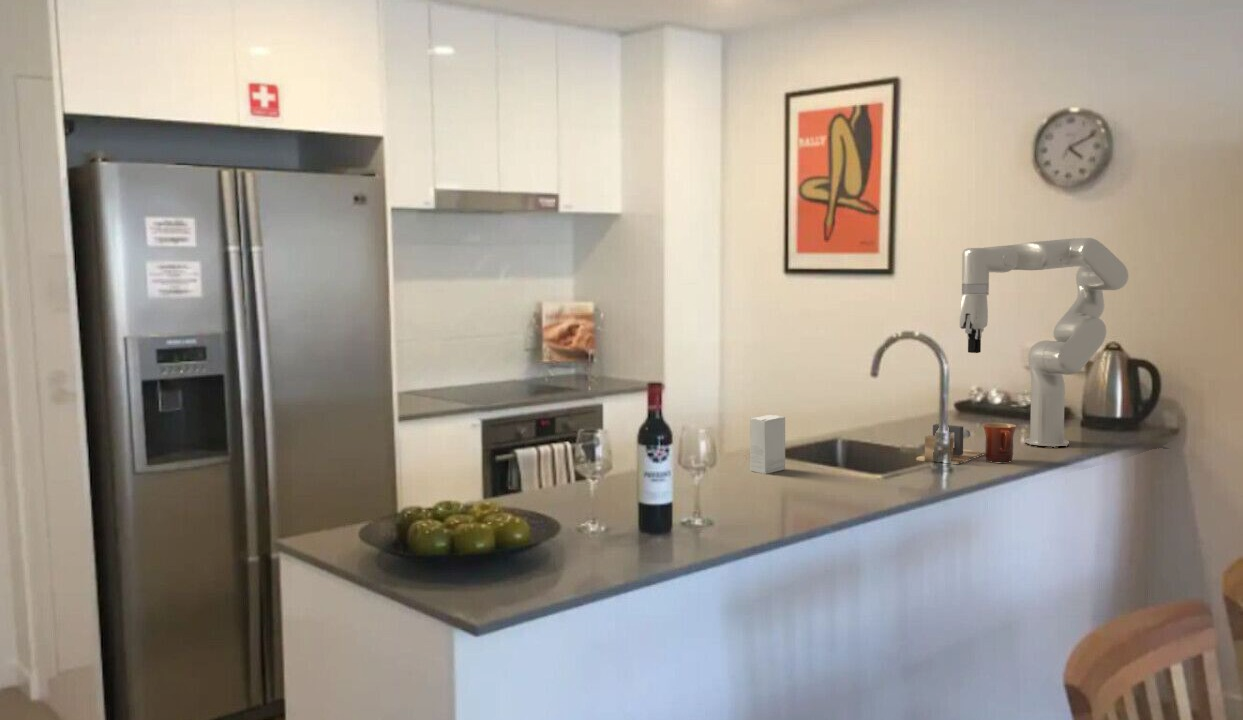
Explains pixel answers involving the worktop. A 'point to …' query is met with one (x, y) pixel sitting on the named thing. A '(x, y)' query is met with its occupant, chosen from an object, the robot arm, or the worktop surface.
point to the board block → (954, 458)
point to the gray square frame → (957, 437)
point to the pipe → (965, 434)
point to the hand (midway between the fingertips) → (974, 352)
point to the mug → (999, 441)
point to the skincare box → (767, 444)
